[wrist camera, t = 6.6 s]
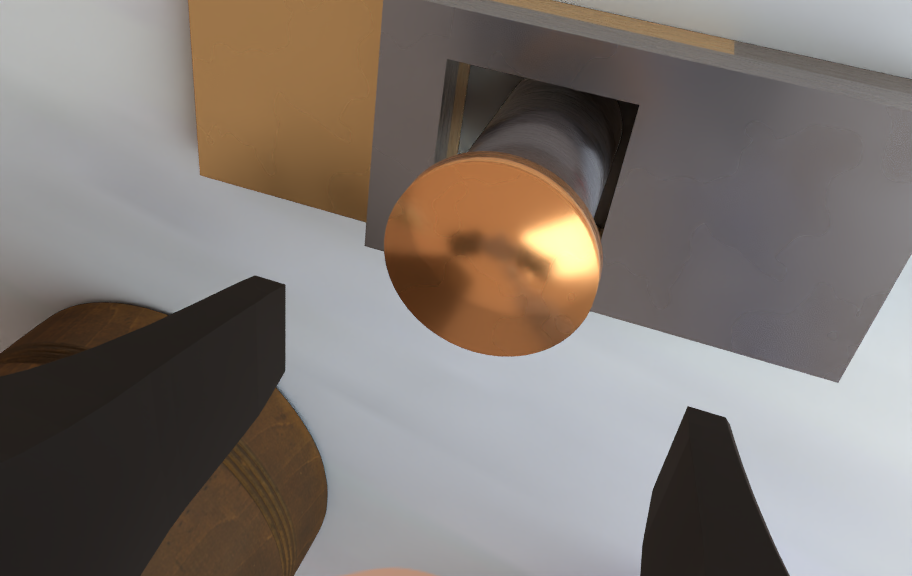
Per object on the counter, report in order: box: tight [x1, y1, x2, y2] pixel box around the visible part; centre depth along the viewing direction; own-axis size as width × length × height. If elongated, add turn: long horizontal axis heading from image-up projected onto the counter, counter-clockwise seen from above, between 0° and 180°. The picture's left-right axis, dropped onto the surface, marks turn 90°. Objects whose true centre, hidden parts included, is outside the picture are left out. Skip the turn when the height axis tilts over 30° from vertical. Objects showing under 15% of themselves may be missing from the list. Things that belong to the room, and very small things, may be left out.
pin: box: [384, 78, 622, 356], centre depth 18 cm, size 4×4×8 cm
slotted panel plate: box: [188, 0, 912, 382], centre depth 20 cm, size 7×19×2 cm, turn 83°
